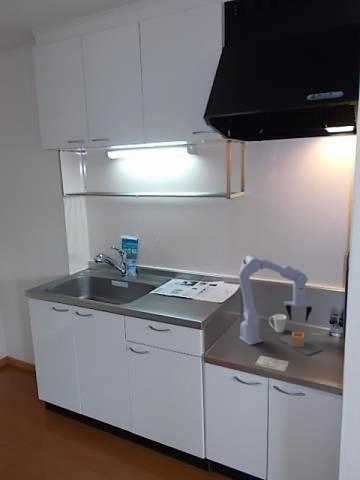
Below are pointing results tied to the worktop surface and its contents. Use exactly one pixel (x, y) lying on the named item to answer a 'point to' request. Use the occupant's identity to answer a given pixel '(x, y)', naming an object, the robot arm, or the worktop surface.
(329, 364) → the worktop surface
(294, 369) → the worktop surface
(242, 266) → the robot arm
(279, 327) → the cup
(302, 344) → the wooden cube with hole
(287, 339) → the plate
